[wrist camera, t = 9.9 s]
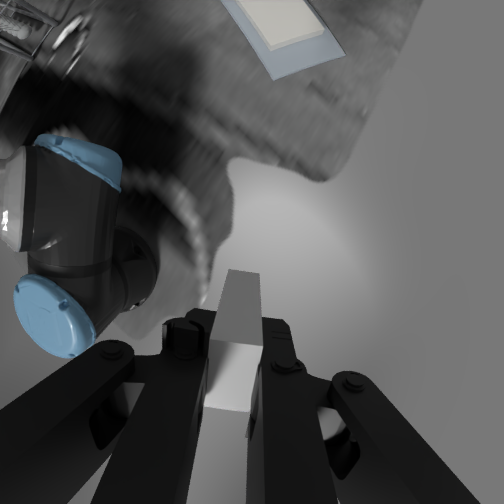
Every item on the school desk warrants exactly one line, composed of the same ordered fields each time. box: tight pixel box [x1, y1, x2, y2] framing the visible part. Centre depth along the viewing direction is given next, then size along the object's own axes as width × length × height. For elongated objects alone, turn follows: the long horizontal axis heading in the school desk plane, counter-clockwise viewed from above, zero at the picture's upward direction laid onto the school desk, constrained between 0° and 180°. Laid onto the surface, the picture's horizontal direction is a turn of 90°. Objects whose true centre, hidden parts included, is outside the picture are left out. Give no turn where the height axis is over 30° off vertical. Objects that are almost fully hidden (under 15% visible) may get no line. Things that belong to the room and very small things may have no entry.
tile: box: [235, 0, 325, 51], centre depth 35 cm, size 2×10×14 cm
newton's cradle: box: [0, 0, 58, 61], centre depth 26 cm, size 30×10×18 cm, turn 53°
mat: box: [221, 0, 346, 81], centre depth 37 cm, size 20×14×1 cm
